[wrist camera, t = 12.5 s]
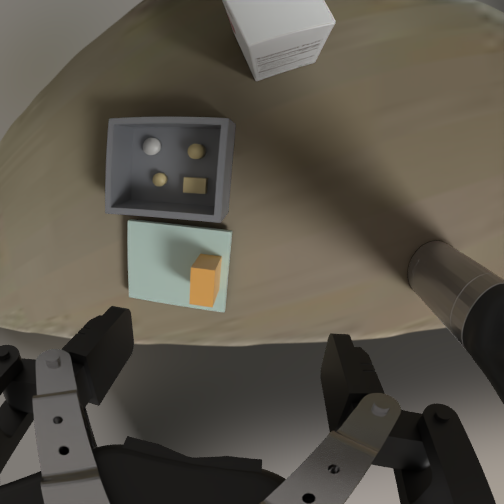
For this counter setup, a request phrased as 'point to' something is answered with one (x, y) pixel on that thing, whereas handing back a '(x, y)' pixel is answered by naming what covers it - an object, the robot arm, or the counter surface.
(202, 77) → the counter surface
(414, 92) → the counter surface
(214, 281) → the lid
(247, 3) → the supplement box
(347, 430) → the robot arm
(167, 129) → the tub
